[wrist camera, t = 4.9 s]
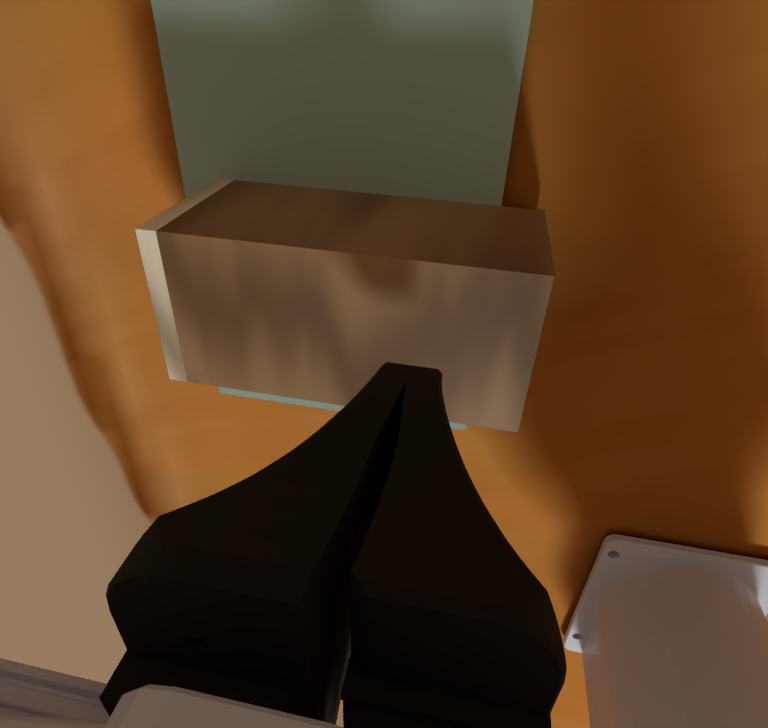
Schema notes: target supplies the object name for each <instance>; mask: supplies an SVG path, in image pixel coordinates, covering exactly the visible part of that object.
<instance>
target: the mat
mask: <svg viewBox="0 0 768 728" xmlns="http://www.w3.org/2000/svg"><path fill="white" fill-rule="evenodd" d="M533 3H534V0H151V5H152V11H153V17H154V22H155V28H156V34H157V39H158V45H159V51H160V57H161V62H162V68H163V74H164V79H165V85H166V91H167V96H168V102H169V108H170V113H171V119H172V125H173V131H174V136H175V142H176V148H177V153H178V159H179V165H180V170H181V176H182V182H183V188H184V193H185V198H186V197H188V196H189V195H191V194H193V193H194V192H196V191H198V190H199V189H201V188H203V187H204V186H206V185H208V184H209V183H211V182H212V181H214V180H216V179H217V178H218V179H228V180H238V181H249V182H259V183H269V184H280V185H290V186H300V187H311V188H321V189H331V190H341V191H352V192H362V193H372V194H383V195H393V196H403V197H414V198H424V199H434V200H445V201H455V202H465V203H475V204H486V205H496V206H502V200H503V193H504V187H505V181H506V174H507V168H508V162H509V155H510V149H511V143H512V136H513V130H514V124H515V117H516V111H517V105H518V98H519V92H520V86H521V79H522V73H523V67H524V60H525V54H526V48H527V41H528V35H529V29H530V22H531V16H532V10H533ZM219 393H224V394H230V395H237V396H244V397H250V398H257V399H263V400H270V401H277V402H283V403H290V404H296V405H303V406H309V407H316V408H323V409H329V410H336V411H340V410H342V409H343V408H344V407H345V406H341V405H335V404H328V403H322V402H315V401H309V400H302V399H296V398H289V397H283V396H276V395H270V394H263V393H257V392H250V391H243V390H237V389H230V388H224V387H219ZM449 424H450V427H451V428H454V429H461V430H466V427H467V425H465V424H459V423H452V422H449Z"/></svg>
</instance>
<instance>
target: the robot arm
mask: <svg viewBox="0 0 768 728" xmlns="http://www.w3.org/2000/svg"><path fill="white" fill-rule="evenodd" d="M106 597H107V601H108V605H109V609H110V612H111V614H112V617H113V619H114V621H115V623H116V626H117V628H118V630H119V632H120V635H121V637H122V639H123V641H124V643H125V646H126V648H127V651H126V653H125V654H124V656H123V658H122V660H121V661H120V663H119V665H118V666H117V668H116V670H115V671H114V673H113V675H112V676H111V678H110V680H109V682H108V683H107V684H105V683H101V682H96V681H93V680H88V679H84V678H80V677H75V676H71V675H67V674H63V673H59V672H54V671H51V670H46V669H42V668H38V667H34V666H30V665H26V664H22V663H17V662H13V661H9V660H5V659H1V658H0V728H343V727H340V726H337V725H336V720H337V715H338V710H339V705H340V700H343V720H344V728H551V716H550V713H551V710H552V708H553V706H554V704H555V702H556V699H557V697H558V695H559V693H560V691H561V688H562V686H563V684H564V681H565V676H566V670H567V669H566V659H565V653H564V648H563V643H564V647H565V648H566V649H568V650H571V651H575V652H580V653H582V655H583V664H584V674H585V683H586V692H587V701H588V710H589V719H590V728H768V623H767V620H766V618H765V616H766V615H767V614H768V560H764V559H758V558H752V557H746V556H741V555H735V554H729V553H723V552H717V551H712V550H706V549H700V548H694V547H688V546H682V545H677V544H671V543H665V542H659V541H653V540H648V539H642V538H636V537H630V536H624V535H618V534H612V535H609V536H607V537H606V538H605V539H604V541H603V543H602V546H601V548H600V551H599V553H598V555H597V558H596V560H595V563H594V565H593V568H592V570H591V572H590V575H589V577H588V580H587V582H586V585H585V587H584V589H583V592H582V594H581V597H580V599H579V601H578V604H577V606H576V609H575V611H574V614H573V616H572V618H571V621H570V623H569V626H568V628H567V631H566V633H565V635H564V638H563V642H562V638H561V633H560V629H559V626H558V622H557V619H556V615H555V612H554V609H553V606H552V603H551V600H550V597H549V594H548V592H547V590H546V589H545V588H544V587H543V585H542V584H541V583H540V582H539V581H538V580H537V578H536V577H535V576H534V575H533V574H532V572H531V571H530V570H529V569H528V567H527V566H526V565H525V564H524V562H523V561H522V560H521V559H520V557H519V556H518V555H517V553H516V552H515V550H514V549H513V548H512V546H511V545H510V544H509V542H508V541H507V539H506V538H505V537H504V535H503V534H502V532H501V530H500V529H499V527H498V526H497V524H496V522H495V521H494V519H493V518H492V516H491V515H490V513H489V511H488V510H487V508H486V507H485V505H484V503H483V501H482V500H481V498H480V496H479V494H478V492H477V490H476V488H475V487H474V485H473V482H472V480H471V478H470V476H469V474H468V472H467V470H466V468H465V465H464V463H463V461H462V458H461V456H460V453H459V451H458V448H457V445H456V443H455V440H454V437H453V434H452V431H451V427H450V424H449V420H448V416H447V413H446V408H445V404H444V398H443V392H442V373H441V372H440V370H439V369H434V368H427V367H420V366H413V365H405V364H398V363H391V362H386V363H385V364H383V365H382V366H381V367H380V368H379V370H378V371H377V372H376V373H375V375H374V376H373V377H372V378H371V379H370V380H369V382H368V383H367V384H366V385H365V386H364V387H363V388H362V389H361V390H360V391H359V392H358V394H357V395H356V396H355V397H354V398H353V399H352V400H351V401H350V402H349V403H348V404H347V405H346V406H345V407H344V408H343V409H342V410H340V411H339V412H338V413H337V414H336V415H335V416H334V417H333V418H332V419H330V420H329V421H328V422H327V423H326V424H325V425H324V426H323V427H321V428H320V429H319V430H318V431H317V432H315V433H314V434H313V435H312V436H310V437H309V438H308V439H307V440H305V441H304V442H303V443H301V444H300V445H299V446H297V447H296V448H294V449H293V450H292V451H290V452H289V453H287V454H286V455H284V456H283V457H281V458H280V459H278V460H277V461H275V462H273V463H272V464H270V465H269V466H267V467H265V468H264V469H262V470H260V471H259V472H257V473H255V474H254V475H252V476H250V477H248V478H246V479H244V480H242V481H240V482H238V483H236V484H234V485H232V486H230V487H228V488H226V489H224V490H222V491H220V492H218V493H216V494H213V495H211V496H209V497H207V498H204V499H202V500H199V501H197V502H194V503H192V504H189V505H187V506H184V507H182V508H179V509H176V510H174V511H171V512H169V513H166V514H163V515H160V516H159V517H158V518H157V519H156V520H155V522H154V523H153V524H152V525H151V526H150V527H149V529H148V530H147V531H146V532H145V533H144V534H143V536H142V537H141V538H140V540H139V541H138V542H137V544H136V545H135V546H134V548H133V549H132V551H131V552H130V554H129V555H128V557H127V558H126V559H125V561H124V562H123V564H122V565H121V567H120V568H119V570H118V571H117V573H116V574H115V576H114V577H113V578H112V580H111V582H110V583H109V585H108V588H107V593H106ZM350 651H351V653H350ZM349 656H350V657H349ZM348 661H349V662H348Z"/></svg>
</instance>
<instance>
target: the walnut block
mask: <svg viewBox="0 0 768 728" xmlns="http://www.w3.org/2000/svg"><path fill="white" fill-rule="evenodd" d="M135 231H136V235H137V240H138V244H139V248H140V253H141V257H142V261H143V265H144V270H145V274H146V278H147V283H148V287H149V291H150V296H151V300H152V304H153V308H154V313H155V317H156V321H157V326H158V330H159V334H160V339H161V343H162V347H163V351H164V356H165V360H166V364H167V369H168V373H169V377H170V379H172V380H178V381H185V382H191V383H198V384H204V385H211V386H217V387H224V388H230V389H237V390H243V391H250V392H257V393H263V394H270V395H276V396H283V397H289V398H296V399H302V400H309V401H315V402H322V403H328V404H335V405H341V406H346V405H347V404H348V403H349V402H350V401H351V400H352V399H353V398H354V397H355V396H356V395H357V394H358V392H359V391H360V390H361V389H362V388H363V387H364V386H365V385H366V384H367V383H368V382H369V380H370V379H371V378H372V377H373V376H374V375H375V373H376V372H377V371H378V370H379V368H380V367H381V366H382V365H383V364H385V363H386V362H391V363H398V364H405V365H413V366H420V367H427V368H434V369H439V370H440V372H441V373H442V392H443V398H444V404H445V408H446V413H447V416H448V420H449V422H452V423H459V424H465V425H472V426H478V427H485V428H491V429H498V430H504V431H511V432H517V433H518V430H519V425H520V421H521V417H522V413H523V408H524V404H525V400H526V396H527V392H528V387H529V383H530V379H531V375H532V370H533V366H534V362H535V358H536V353H537V349H538V345H539V341H540V336H541V332H542V328H543V324H544V320H545V315H546V311H547V307H548V303H549V298H550V294H551V290H552V286H553V281H554V277H555V275H554V269H553V262H552V256H551V250H550V244H549V237H548V231H547V225H546V218H545V212H544V210H537V209H527V208H517V207H506V206H496V205H486V204H475V203H465V202H455V201H445V200H434V199H424V198H414V197H403V196H393V195H383V194H372V193H362V192H352V191H341V190H331V189H321V188H311V187H300V186H290V185H280V184H269V183H259V182H249V181H238V180H228V179H218V178H217V179H216V180H214V181H212V182H211V183H209V184H208V185H206V186H204V187H203V188H201V189H199V190H198V191H196V192H194V193H193V194H191V195H189V196H188V197H186V198H185V199H183V200H181V201H180V202H178V203H176V204H175V205H173V206H171V207H170V208H168V209H167V210H165V211H163V212H162V213H160V214H158V215H157V216H155V217H153V218H152V219H150V220H149V221H147V222H145V223H144V224H142V225H140V226H139V227H137V228H135Z"/></svg>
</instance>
